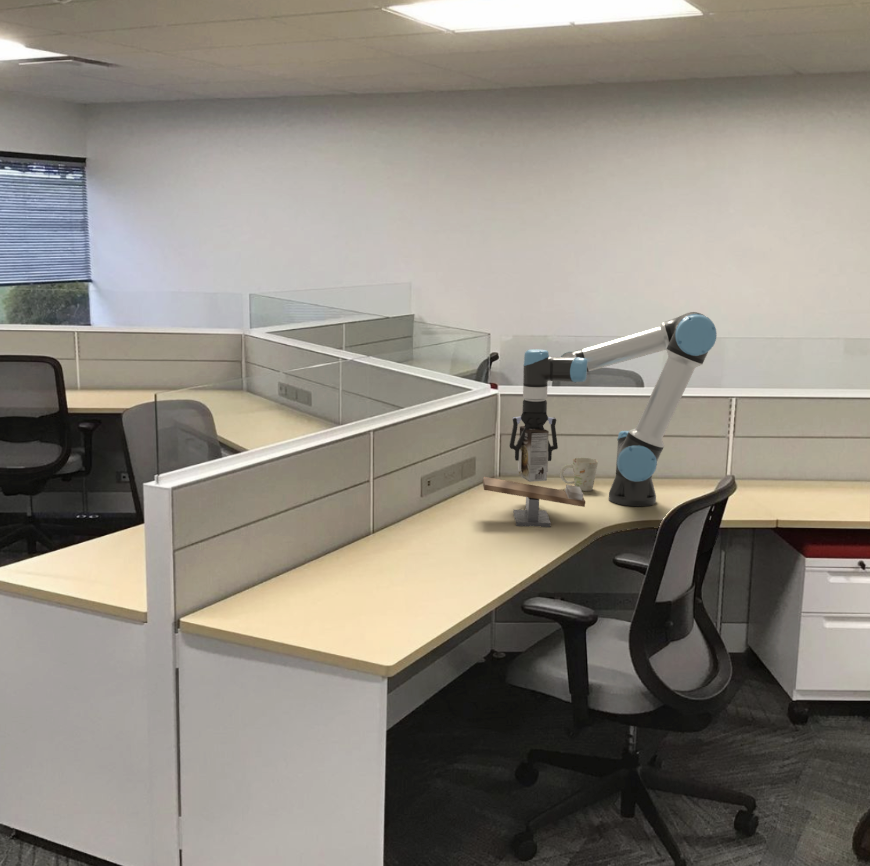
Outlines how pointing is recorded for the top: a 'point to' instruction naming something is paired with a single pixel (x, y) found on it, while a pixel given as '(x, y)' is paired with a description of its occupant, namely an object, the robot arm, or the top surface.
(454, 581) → the top surface
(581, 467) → the mug
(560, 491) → the beam
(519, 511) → the pivot stand
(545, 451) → the coffee box
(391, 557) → the top surface
